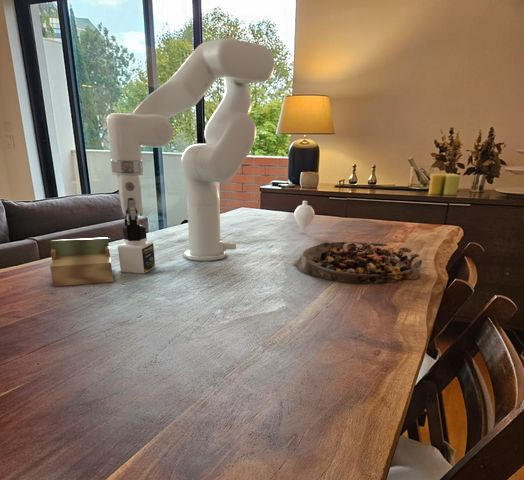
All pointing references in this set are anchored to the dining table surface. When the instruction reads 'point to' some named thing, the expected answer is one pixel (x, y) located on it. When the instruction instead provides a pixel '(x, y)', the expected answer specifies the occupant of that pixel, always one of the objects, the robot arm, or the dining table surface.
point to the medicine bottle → (136, 253)
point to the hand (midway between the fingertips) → (133, 237)
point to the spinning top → (304, 215)
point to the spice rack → (80, 261)
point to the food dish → (358, 263)
